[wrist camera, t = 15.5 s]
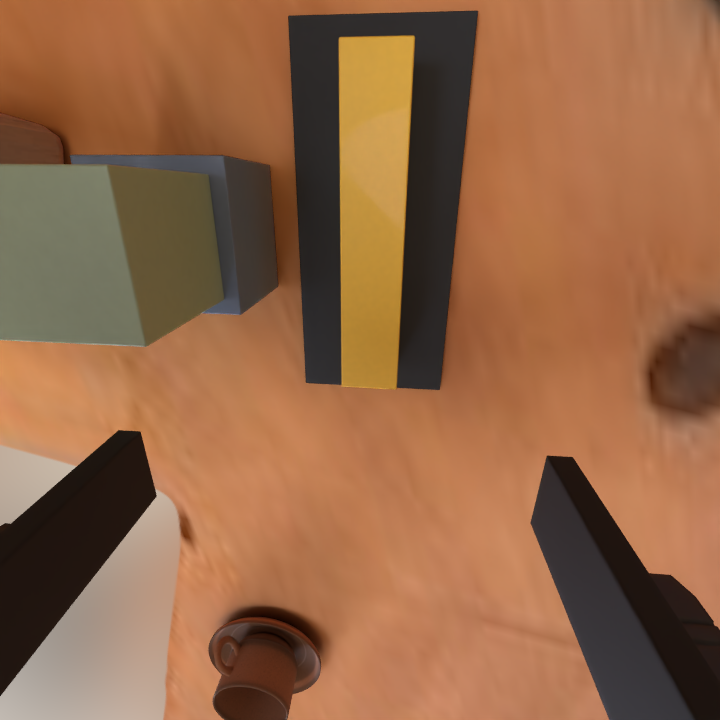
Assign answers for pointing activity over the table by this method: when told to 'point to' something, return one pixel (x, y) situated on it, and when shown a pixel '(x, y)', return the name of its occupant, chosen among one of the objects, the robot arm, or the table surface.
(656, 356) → the table surface
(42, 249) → the tower
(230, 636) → the cup and saucer
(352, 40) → the bar
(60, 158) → the block
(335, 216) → the mat
